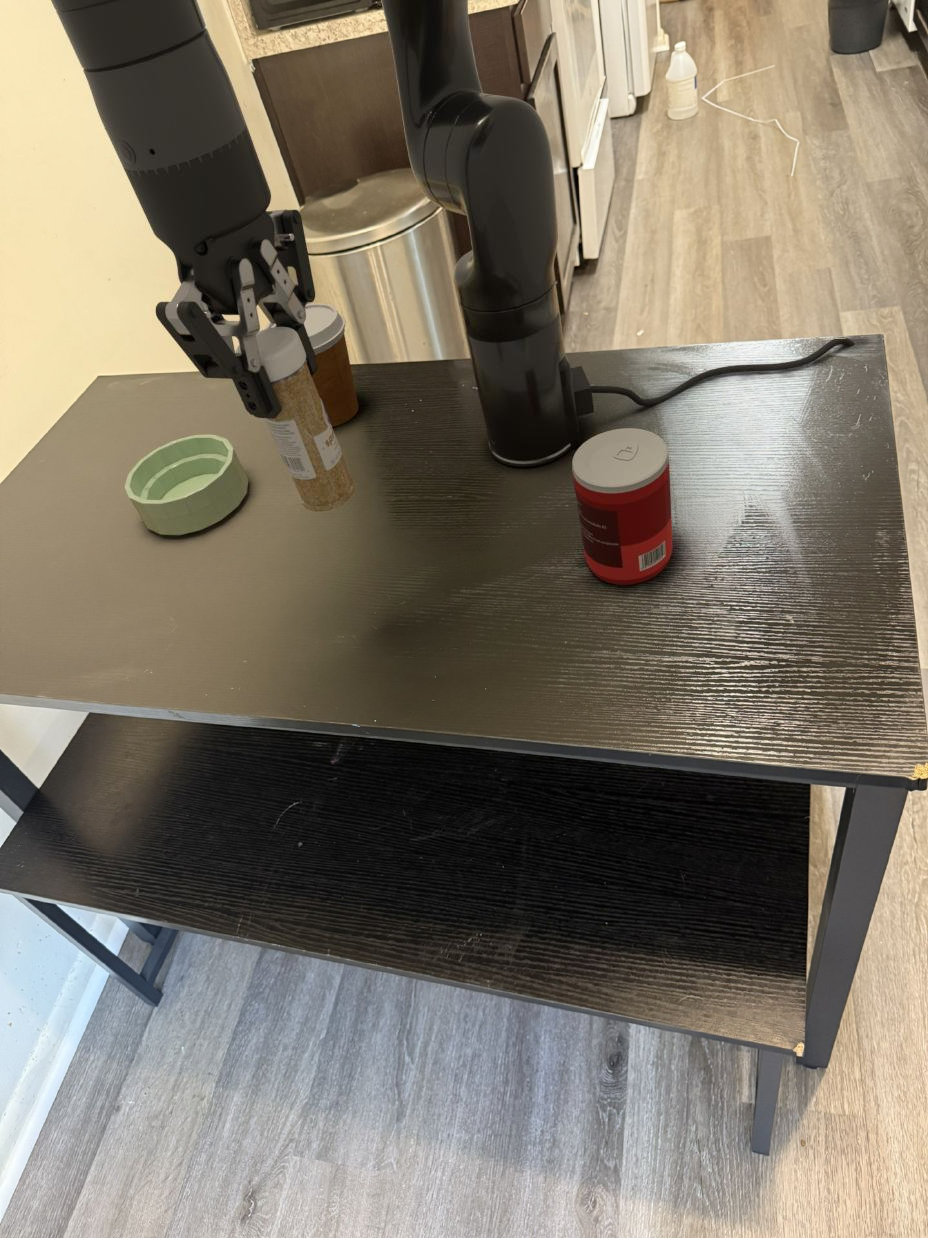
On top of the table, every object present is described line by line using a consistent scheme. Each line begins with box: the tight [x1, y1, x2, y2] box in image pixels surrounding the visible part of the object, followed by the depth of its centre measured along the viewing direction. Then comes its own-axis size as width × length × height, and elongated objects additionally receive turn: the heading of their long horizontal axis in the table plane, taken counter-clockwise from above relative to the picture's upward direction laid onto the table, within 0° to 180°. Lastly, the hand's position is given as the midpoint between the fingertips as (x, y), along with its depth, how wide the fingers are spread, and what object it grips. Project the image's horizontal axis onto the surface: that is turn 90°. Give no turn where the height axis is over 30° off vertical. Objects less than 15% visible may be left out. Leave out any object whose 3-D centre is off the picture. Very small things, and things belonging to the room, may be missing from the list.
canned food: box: [571, 427, 674, 586], centre depth 73 cm, size 8×8×11 cm
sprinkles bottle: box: [235, 327, 356, 512], centre depth 63 cm, size 5×5×14 cm
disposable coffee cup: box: [264, 302, 359, 428], centre depth 101 cm, size 10×10×12 cm
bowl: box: [124, 434, 249, 536], centre depth 96 cm, size 12×12×5 cm
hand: (286, 392), depth 62 cm, fingers closed on sprinkles bottle, 4 cm apart
